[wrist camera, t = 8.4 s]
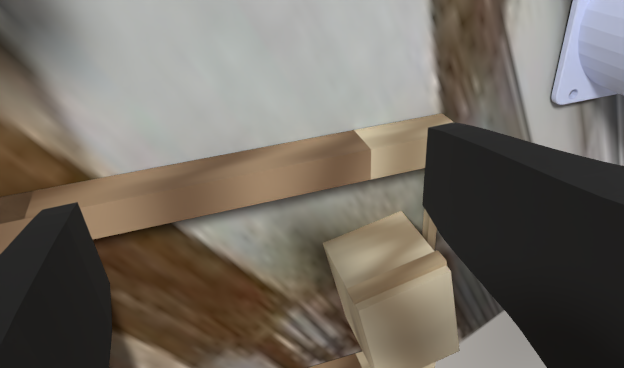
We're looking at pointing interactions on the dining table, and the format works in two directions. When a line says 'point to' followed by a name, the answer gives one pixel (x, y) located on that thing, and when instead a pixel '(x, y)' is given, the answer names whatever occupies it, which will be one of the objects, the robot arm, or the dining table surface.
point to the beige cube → (395, 293)
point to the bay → (234, 185)
